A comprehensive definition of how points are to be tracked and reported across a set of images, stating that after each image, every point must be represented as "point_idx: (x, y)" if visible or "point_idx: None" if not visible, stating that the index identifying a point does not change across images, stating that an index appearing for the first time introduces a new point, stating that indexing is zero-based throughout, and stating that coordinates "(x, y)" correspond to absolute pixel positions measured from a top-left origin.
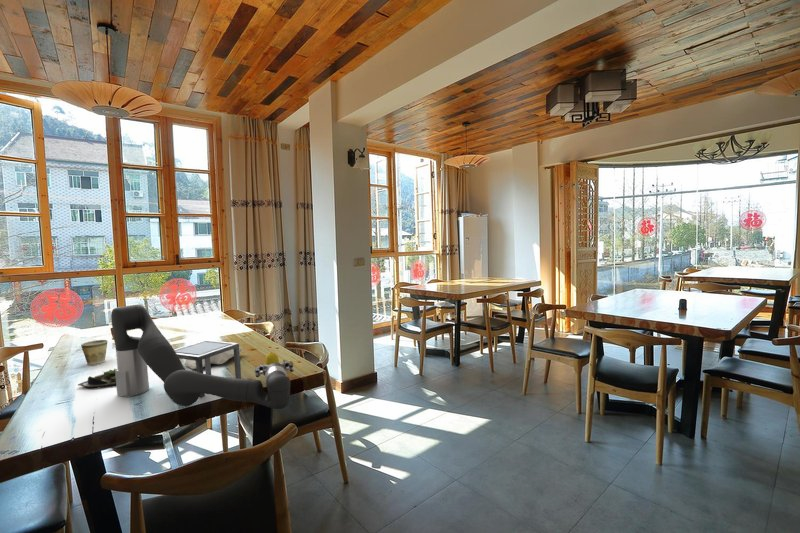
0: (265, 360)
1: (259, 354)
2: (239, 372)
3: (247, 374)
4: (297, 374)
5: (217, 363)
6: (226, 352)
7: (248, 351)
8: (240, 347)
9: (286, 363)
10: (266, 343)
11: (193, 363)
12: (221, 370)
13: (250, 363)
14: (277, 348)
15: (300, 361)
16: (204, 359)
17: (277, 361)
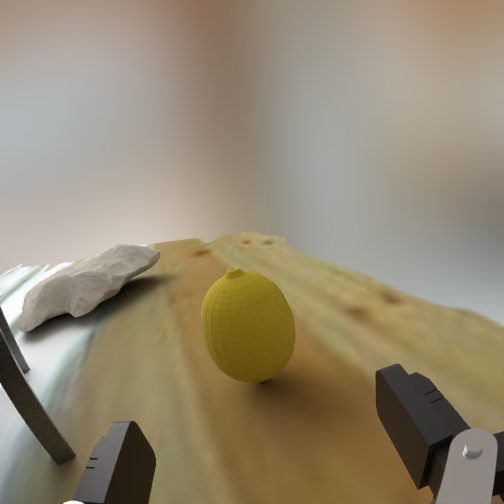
0: (202, 330)
1: (213, 268)
2: (41, 425)
3: (124, 404)
4: None
5: (72, 314)
6: (99, 272)
7: (187, 260)
8: (153, 251)
9: (491, 483)
10: (237, 234)
11: (23, 313)
12: (69, 347)
13: (171, 312)
14: (268, 243)
15: (393, 295)
16: (38, 301)
17: (289, 333)
